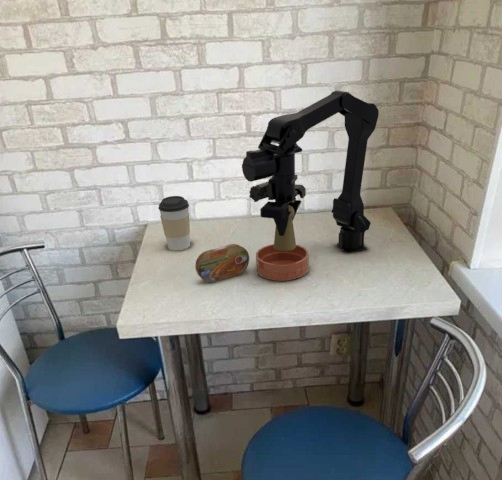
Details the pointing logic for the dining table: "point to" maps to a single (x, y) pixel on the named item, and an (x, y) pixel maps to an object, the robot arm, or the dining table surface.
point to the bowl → (282, 263)
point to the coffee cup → (175, 222)
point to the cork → (286, 236)
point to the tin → (222, 262)
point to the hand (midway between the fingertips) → (284, 232)
